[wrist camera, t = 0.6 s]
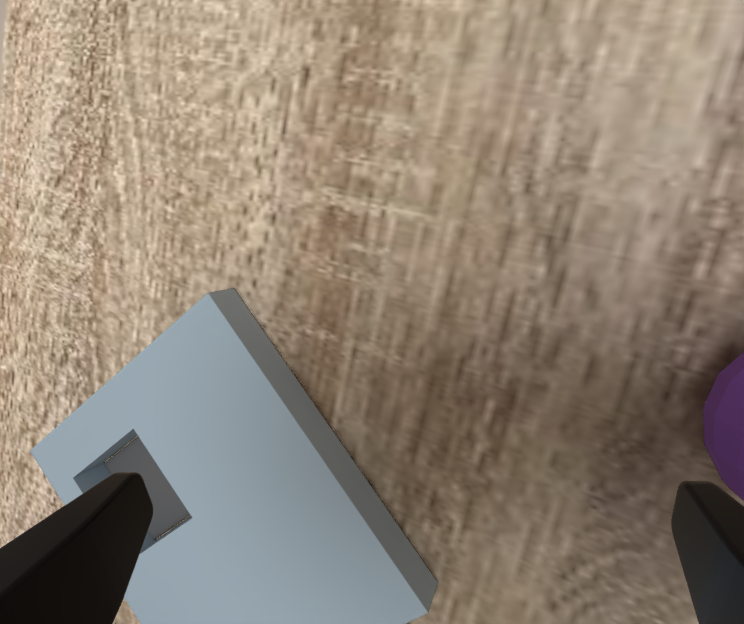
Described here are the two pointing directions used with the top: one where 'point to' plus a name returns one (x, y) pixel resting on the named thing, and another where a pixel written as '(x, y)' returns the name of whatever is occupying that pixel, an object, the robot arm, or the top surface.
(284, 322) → the top surface
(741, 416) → the kendama
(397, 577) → the seat board
